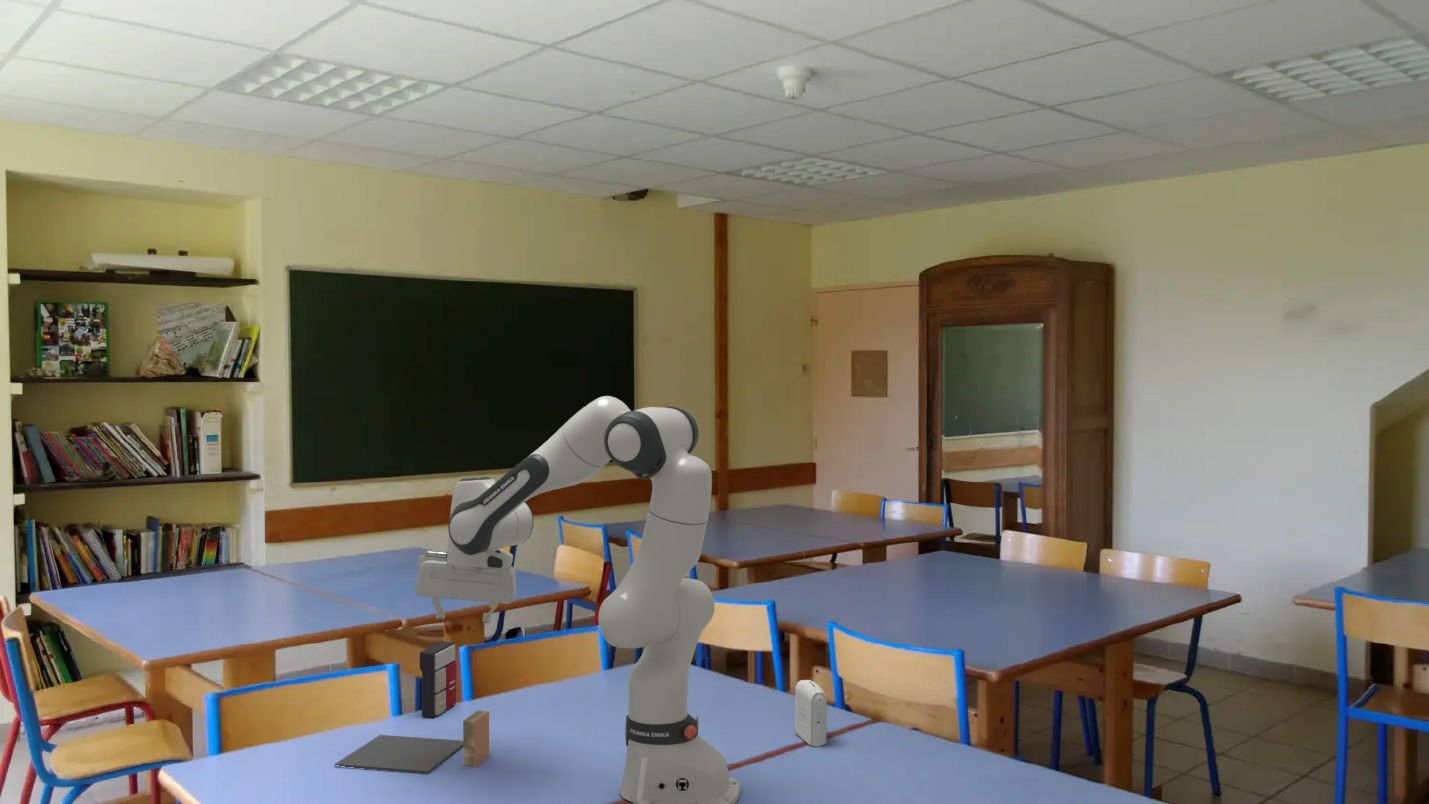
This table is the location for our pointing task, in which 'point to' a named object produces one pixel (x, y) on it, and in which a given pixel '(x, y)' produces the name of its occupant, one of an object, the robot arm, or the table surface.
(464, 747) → the tile
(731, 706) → the table surface
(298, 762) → the table surface
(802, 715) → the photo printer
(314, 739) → the table surface
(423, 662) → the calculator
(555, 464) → the robot arm
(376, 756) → the mat
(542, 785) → the table surface
